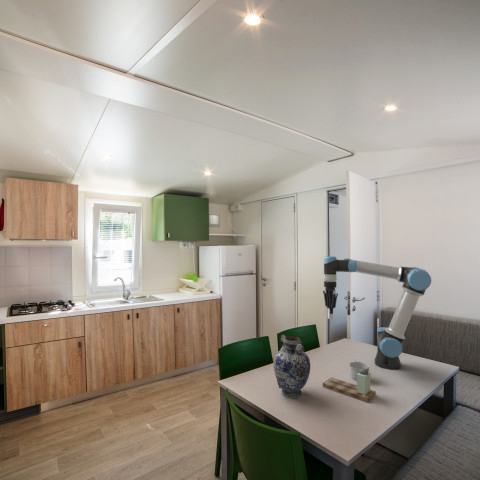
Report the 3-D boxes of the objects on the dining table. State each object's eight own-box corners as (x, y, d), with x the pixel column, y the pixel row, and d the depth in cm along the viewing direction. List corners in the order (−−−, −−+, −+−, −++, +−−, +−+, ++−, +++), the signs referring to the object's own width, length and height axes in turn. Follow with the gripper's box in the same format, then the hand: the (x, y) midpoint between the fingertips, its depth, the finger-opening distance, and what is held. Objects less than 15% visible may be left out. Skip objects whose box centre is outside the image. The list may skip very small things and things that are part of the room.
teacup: (371, 383, 171) (371, 369, 171) (350, 382, 173) (350, 367, 174) (366, 373, 185) (366, 359, 185) (347, 371, 187) (346, 358, 187)
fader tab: (356, 392, 156) (356, 370, 156) (362, 387, 161) (362, 366, 161) (365, 395, 153) (365, 373, 153) (370, 390, 158) (370, 369, 158)
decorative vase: (265, 386, 167) (266, 334, 167) (296, 382, 174) (297, 331, 174) (285, 406, 147) (286, 346, 147) (319, 400, 154) (319, 342, 154)
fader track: (322, 386, 167) (322, 382, 167) (331, 380, 175) (331, 377, 175) (367, 402, 151) (367, 398, 151) (375, 395, 158) (375, 391, 158)
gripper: (319, 280, 202) (319, 316, 202) (331, 282, 190) (331, 321, 190) (329, 279, 205) (329, 315, 204) (341, 281, 192) (341, 320, 192)
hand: (330, 318), depth 197 cm, fingers closed
